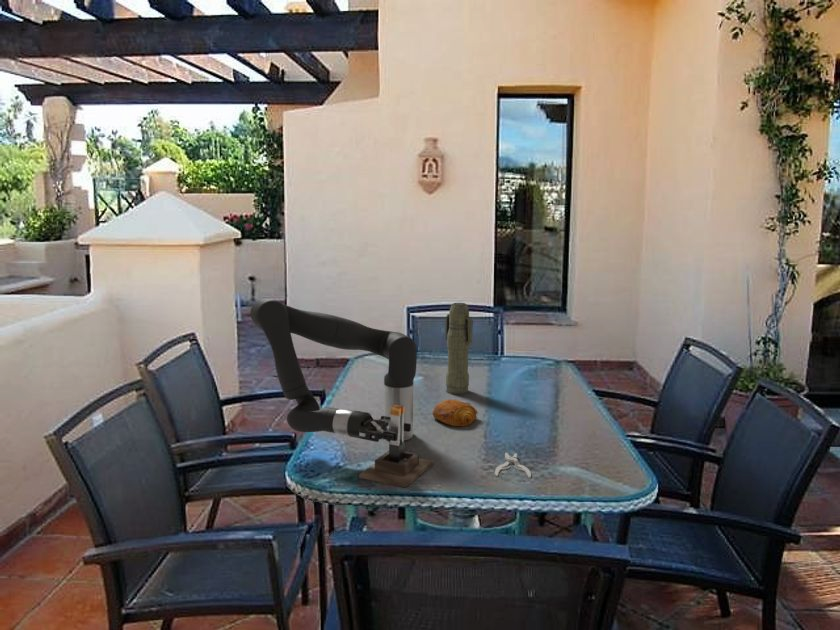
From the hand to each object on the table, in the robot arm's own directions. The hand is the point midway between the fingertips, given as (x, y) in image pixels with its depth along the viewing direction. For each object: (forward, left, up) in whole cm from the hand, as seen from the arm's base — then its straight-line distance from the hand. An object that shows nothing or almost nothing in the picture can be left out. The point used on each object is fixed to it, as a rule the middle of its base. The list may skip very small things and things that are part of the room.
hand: (403, 432), depth 189 cm
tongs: (0, -2, -10) cm, 11 cm away
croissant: (-49, -4, -12) cm, 50 cm away
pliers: (-18, +26, -12) cm, 34 cm away
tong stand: (0, -2, -11) cm, 12 cm away
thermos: (-82, -16, -12) cm, 84 cm away
